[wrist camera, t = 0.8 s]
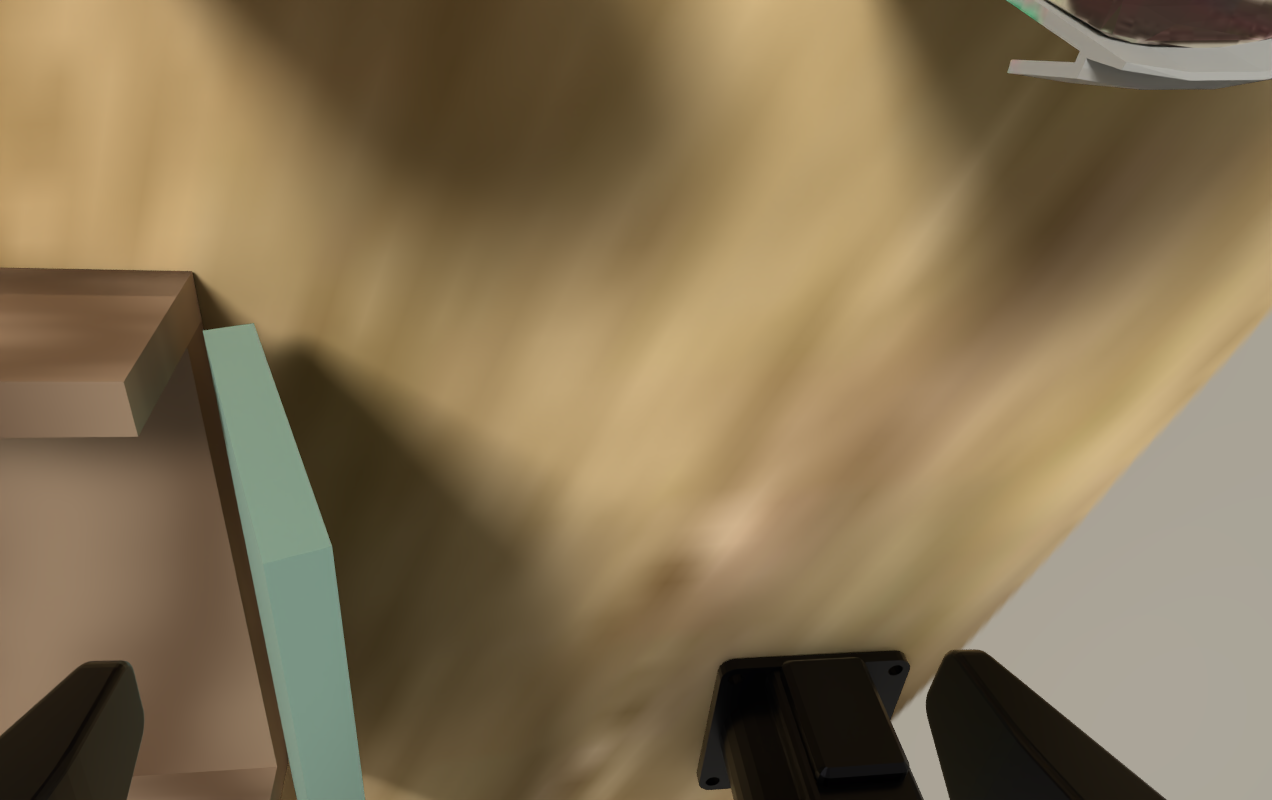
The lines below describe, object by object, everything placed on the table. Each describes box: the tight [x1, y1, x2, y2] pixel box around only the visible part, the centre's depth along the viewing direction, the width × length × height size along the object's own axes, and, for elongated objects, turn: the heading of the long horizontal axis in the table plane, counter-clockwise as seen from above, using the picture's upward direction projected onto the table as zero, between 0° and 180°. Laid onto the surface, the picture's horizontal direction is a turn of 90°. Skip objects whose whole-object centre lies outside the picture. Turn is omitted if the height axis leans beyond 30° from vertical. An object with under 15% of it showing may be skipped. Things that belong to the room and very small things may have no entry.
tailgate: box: [203, 323, 365, 800], centre depth 21 cm, size 1×16×8 cm, turn 175°
